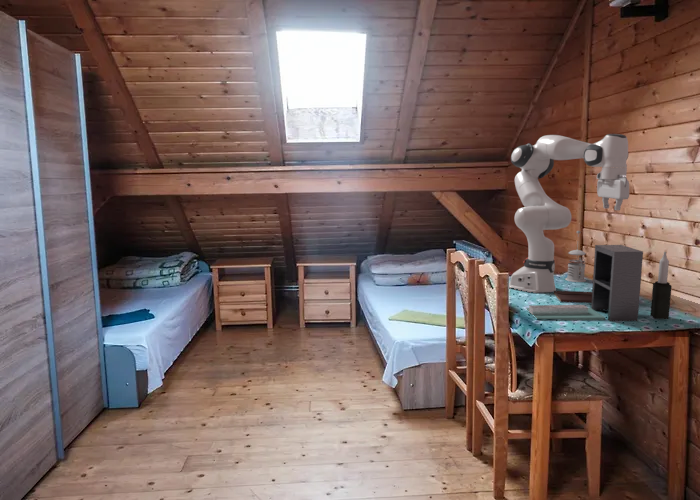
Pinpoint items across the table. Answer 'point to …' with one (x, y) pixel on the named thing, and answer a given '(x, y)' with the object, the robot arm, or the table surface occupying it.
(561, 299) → the notebook
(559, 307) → the aluminium strip
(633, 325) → the table surface
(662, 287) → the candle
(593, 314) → the mat
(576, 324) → the table surface
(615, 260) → the rack
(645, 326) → the table surface
